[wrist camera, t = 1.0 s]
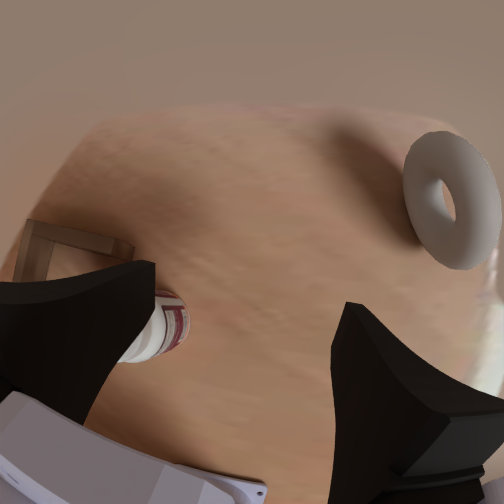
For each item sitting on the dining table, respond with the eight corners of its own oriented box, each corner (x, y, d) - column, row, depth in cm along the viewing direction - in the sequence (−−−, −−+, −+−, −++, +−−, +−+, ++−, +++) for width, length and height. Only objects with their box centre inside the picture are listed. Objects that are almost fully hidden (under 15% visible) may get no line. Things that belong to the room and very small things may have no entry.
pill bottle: (124, 316, 23) (62, 317, 14) (165, 278, 23) (113, 262, 15) (161, 362, 22) (108, 386, 14) (204, 325, 22) (167, 334, 14)
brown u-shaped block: (111, 367, 22) (89, 375, 19) (29, 330, 23) (6, 330, 20) (134, 247, 24) (114, 237, 20) (49, 228, 25) (27, 218, 21)
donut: (381, 171, 24) (429, 103, 14) (411, 164, 24) (465, 101, 14) (422, 283, 22) (500, 266, 12) (452, 270, 22) (531, 248, 12)
